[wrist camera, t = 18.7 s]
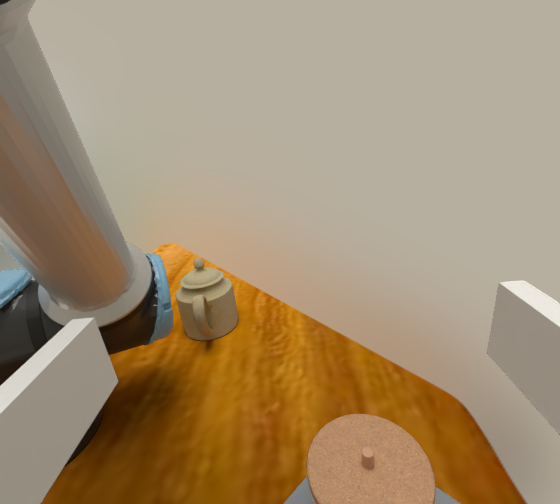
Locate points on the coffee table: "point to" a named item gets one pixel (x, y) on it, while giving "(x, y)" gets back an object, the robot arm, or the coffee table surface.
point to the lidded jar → (368, 464)
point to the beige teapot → (206, 303)
